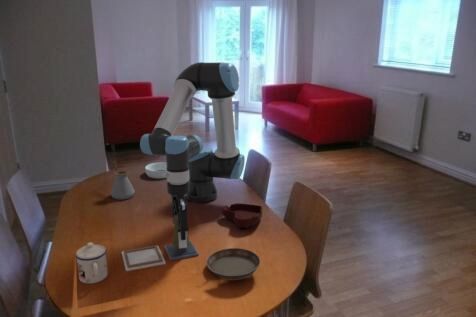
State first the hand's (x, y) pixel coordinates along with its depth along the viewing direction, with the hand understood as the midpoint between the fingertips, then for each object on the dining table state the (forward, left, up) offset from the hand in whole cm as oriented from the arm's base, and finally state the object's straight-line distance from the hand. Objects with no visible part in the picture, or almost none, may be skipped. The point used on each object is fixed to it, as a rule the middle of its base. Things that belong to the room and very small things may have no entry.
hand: (180, 243), depth 146 cm
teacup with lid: (+30, +7, -4) cm, 31 cm away
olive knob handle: (0, 0, 0) cm, 1 cm away
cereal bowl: (-10, -87, -4) cm, 88 cm away
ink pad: (0, 0, -3) cm, 3 cm away
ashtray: (-32, -17, -4) cm, 37 cm away
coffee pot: (+14, -68, -4) cm, 70 cm away
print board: (+13, 0, -3) cm, 14 cm away
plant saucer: (-14, +17, -4) cm, 22 cm away
